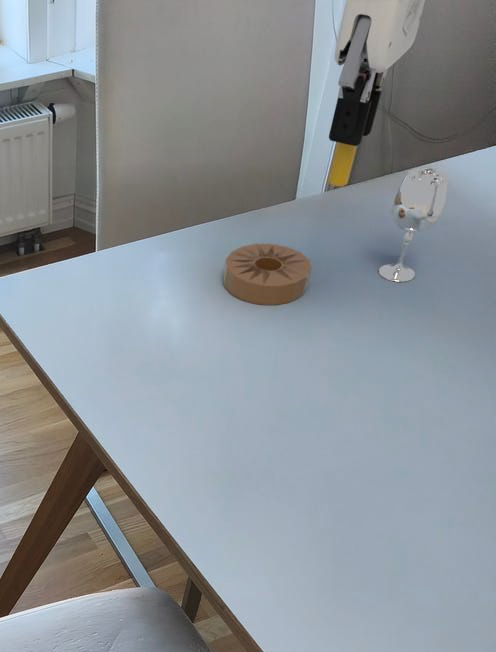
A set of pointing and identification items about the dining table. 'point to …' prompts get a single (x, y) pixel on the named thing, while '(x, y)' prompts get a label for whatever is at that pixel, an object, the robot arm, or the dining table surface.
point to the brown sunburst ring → (266, 274)
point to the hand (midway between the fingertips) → (349, 135)
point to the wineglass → (416, 212)
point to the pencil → (342, 161)
